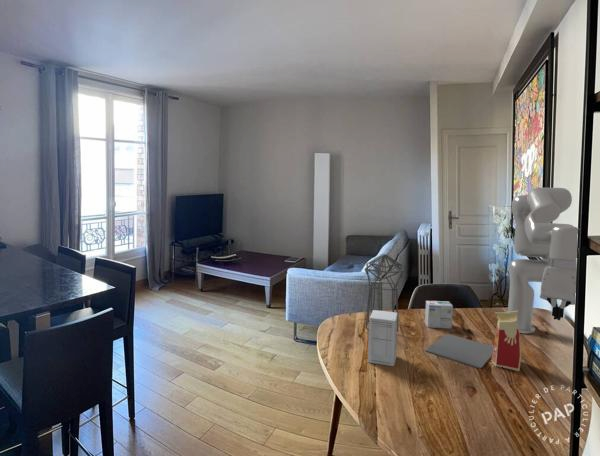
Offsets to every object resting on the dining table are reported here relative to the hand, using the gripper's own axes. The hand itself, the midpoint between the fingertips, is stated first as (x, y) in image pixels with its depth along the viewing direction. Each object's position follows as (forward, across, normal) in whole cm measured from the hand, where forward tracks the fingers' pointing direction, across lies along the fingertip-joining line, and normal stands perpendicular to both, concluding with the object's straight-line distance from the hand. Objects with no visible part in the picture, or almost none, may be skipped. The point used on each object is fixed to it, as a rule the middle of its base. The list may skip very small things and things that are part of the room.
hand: (557, 318), depth 123 cm
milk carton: (+21, -14, +1) cm, 25 cm away
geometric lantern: (+20, -59, -8) cm, 63 cm away
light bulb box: (+20, -46, +20) cm, 54 cm away
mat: (+20, -29, +1) cm, 36 cm away
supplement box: (+21, -48, -27) cm, 59 cm away
